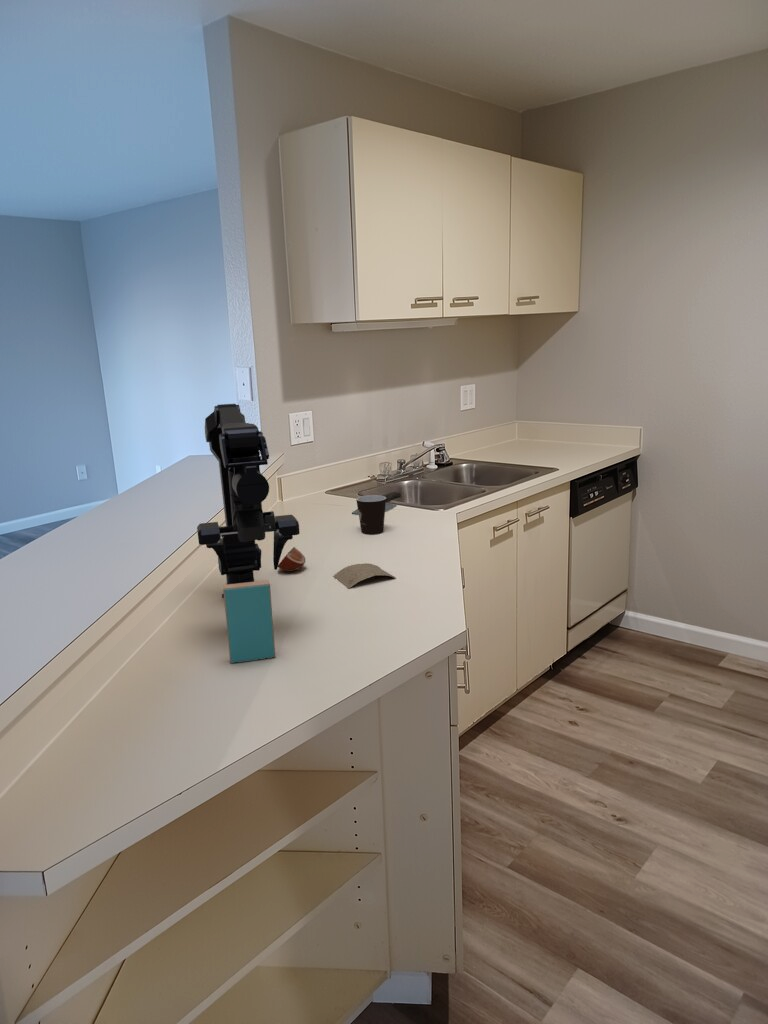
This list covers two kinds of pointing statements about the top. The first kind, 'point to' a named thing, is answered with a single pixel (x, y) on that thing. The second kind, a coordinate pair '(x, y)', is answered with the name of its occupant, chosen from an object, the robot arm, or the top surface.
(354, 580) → the clay tablet
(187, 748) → the top surface
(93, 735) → the top surface
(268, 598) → the tile
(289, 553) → the fruit slice
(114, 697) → the top surface
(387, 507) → the cleaver
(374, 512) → the coffee mug
